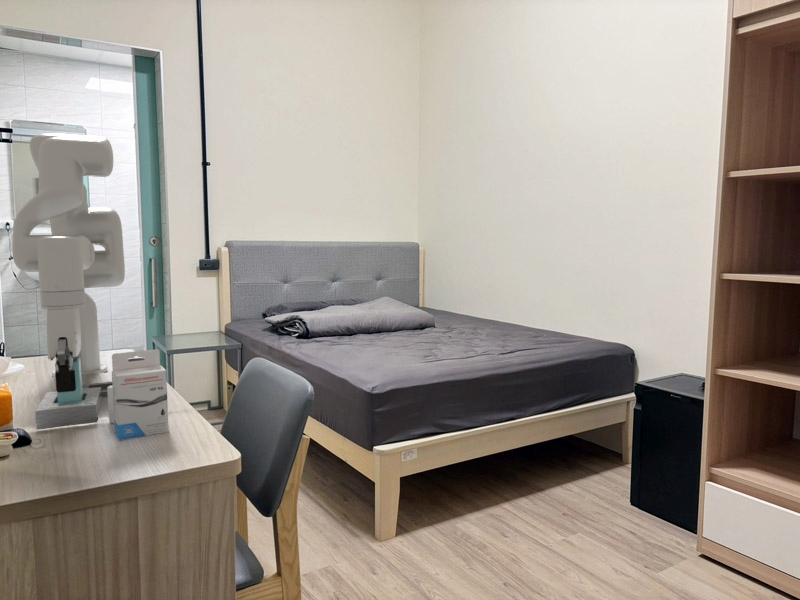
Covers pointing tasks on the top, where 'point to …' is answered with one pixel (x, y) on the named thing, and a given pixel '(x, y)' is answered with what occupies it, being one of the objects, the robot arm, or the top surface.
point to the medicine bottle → (110, 396)
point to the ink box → (139, 395)
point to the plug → (78, 393)
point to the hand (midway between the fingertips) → (69, 385)
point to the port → (68, 410)
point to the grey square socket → (102, 385)
